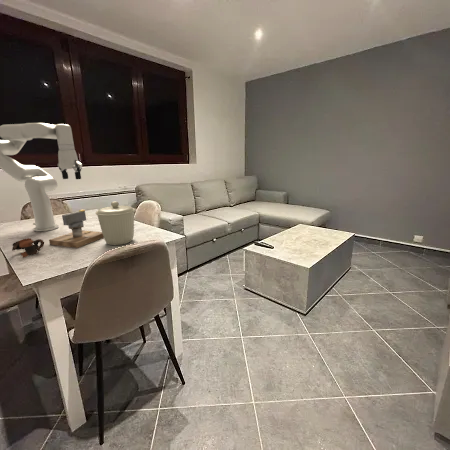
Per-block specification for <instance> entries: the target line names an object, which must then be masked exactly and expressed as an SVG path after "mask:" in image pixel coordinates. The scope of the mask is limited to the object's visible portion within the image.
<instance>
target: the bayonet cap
mask: <svg viewBox="0 0 450 450" xmlns="http://www.w3.org/2000/svg"><path fill="white" fill-rule="evenodd" d="M86 216H87V215H86V210H85V209H79V210H78V211H75V212H69V213H66V214H62V215H61V217H62V222H63V226H68V229H70V230H72V229H78V228H84V226H85V225H84V221H85V222H86V221H87V217H86Z"/></svg>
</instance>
